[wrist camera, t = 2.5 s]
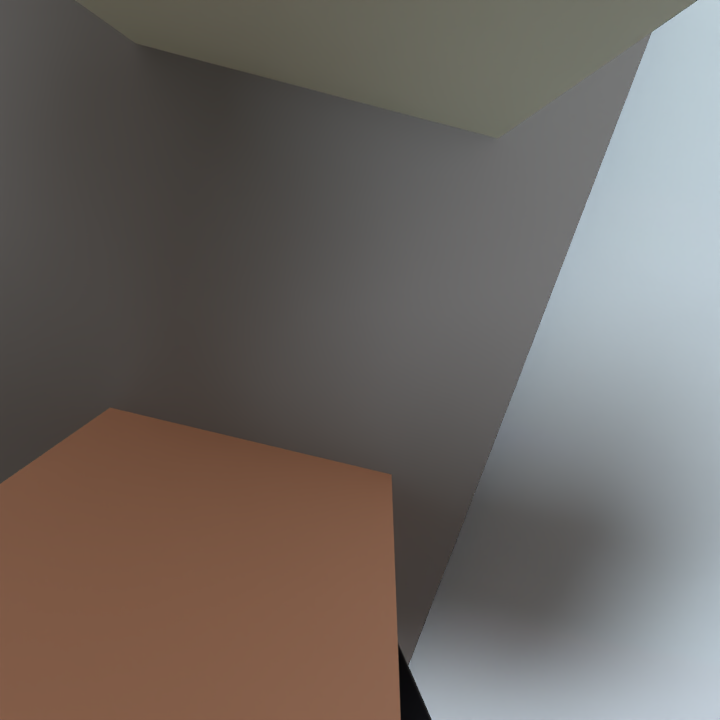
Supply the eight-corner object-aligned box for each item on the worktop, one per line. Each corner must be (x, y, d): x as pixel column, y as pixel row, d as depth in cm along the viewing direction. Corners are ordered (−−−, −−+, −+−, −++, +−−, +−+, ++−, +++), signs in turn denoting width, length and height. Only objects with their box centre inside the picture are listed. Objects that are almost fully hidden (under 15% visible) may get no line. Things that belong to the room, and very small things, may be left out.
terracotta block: (330, 672, 9) (275, 1160, 4) (96, 620, 9) (-220, 1066, 4) (391, 474, 8) (408, 898, 3) (110, 407, 7) (-364, 736, 3)
